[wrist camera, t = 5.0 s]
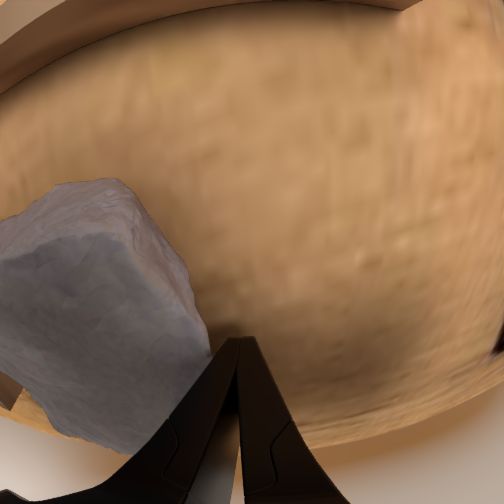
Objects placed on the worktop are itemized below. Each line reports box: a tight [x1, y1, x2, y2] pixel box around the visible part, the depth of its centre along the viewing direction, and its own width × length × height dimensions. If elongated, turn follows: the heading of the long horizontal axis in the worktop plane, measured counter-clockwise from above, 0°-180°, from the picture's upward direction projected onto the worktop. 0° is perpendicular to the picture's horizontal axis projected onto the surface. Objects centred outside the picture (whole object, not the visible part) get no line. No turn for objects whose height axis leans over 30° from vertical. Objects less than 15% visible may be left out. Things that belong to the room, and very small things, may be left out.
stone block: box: [0, 178, 213, 456], centre depth 9 cm, size 12×5×10 cm
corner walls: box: [0, 0, 422, 411], centre depth 8 cm, size 22×16×3 cm
